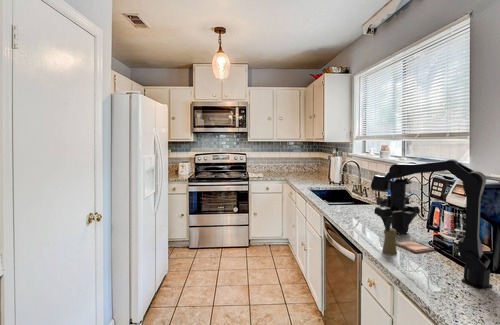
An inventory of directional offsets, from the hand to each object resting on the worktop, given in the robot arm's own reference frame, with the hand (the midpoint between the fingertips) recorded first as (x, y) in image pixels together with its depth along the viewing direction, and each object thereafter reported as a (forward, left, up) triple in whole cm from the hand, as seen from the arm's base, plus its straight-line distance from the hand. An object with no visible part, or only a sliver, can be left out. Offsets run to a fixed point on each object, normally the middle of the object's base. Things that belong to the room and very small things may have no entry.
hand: (396, 230), depth 123 cm
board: (+9, -25, -13) cm, 29 cm away
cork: (+8, -5, -13) cm, 16 cm away
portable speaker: (+29, -32, -13) cm, 45 cm away
